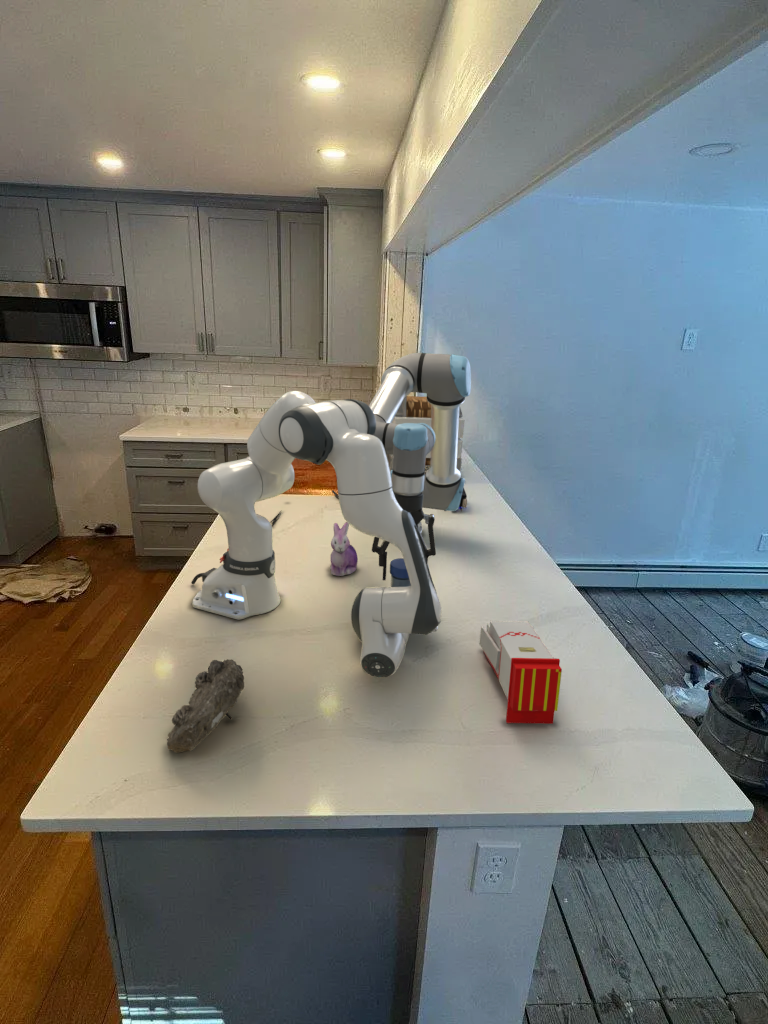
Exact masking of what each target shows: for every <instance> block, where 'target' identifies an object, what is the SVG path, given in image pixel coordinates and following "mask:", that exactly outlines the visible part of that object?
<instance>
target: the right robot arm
mask: <svg viewBox="0 0 768 1024" xmlns="http://www.w3.org/2000/svg"><path fill="white" fill-rule="evenodd" d="M471 370H472V369H471V363H470V361H469V359H468V357H466V356H465V355H458V354H454V353H451V354H448V353H447V354H445V353H430V352H428V353H427V352H412V353H409V354H405V355H403V356H401V357H399V358H397V359H395V360H394V361H393V362H392V363H390V364H389V365H388V366H387V367H386V369H385V370H384V372H383V373H382V375H381V379H380V383H381V384H380V386H379V388H378V389H377V391H376V392H375V394H374V396H373V398H372V399H371V401H370V403H369V404H368V406H369V407H370V408H371V410H372V411H373V413H374V416H375V420H376V430H375V434H374V436H376V437H377V438H379V439H380V440H381V442H382V443H383V445H384V448H385V452H386V454H393V469H392V470H391V471H390V472H391V478H392V486H393V492H394V495H395V498H396V500H397V502H398V504H399V505H400V506H401V508H402V509H403V510H405V511H407V512H409V513H410V514H411V516H412V517H413V519H414V522H415V524H416V527H417V530H418V533H419V536H420V540H421V543H422V546H423V550H424V554H425V557H426V561H427V564H428V563H429V558H430V557H431V556H432V557H434V556H436V555H437V549H436V541H435V533H434V524H435V521H436V520H435V519H436V518H435V514H434V513H430V514H427V513H425V512H424V511H423V509H428V510H429V509H430V510H431V509H432V510H440V511H444V512H456V511H458V510H459V509H460V508H459V505H460V500H461V496H462V492H463V488H464V489H465V487H464V486H465V483H466V479H465V477H461V475H462V474H460V471H459V470H458V469H457V468H456V467H457V447H458V426H459V406H460V407H461V405H463V403H464V402H465V401H466V398H467V397H469V396H470V394H471V391H472V371H471ZM411 393H417V394H426V397H427V401H428V402H429V403H430V404H431V405H432V407H431V427H430V426H429V425H427V424H424V423H417V424H416V423H403V424H393V423H392V421H393V419H394V417H395V415H396V413H397V411H398V409H399V407H400V405H401V403H402V401H403V399H404V397H406V396H410V394H411ZM430 451H431V461H430V466H429V468H428V469H427V470H426V466H425V461H426V456H427V454H428V453H429V452H430ZM425 470H426V471H425ZM331 492H332V494H333V495H334V496H336V498H338V499H339V496H338V493H337V492H336V491H335V490H331ZM458 508H459V509H458ZM423 520H424V522H425V524H426V525H427V531H428V532H427V533H428V541H429V548H427V545H426V542H425V540H424V537H423V524H422V521H423ZM379 543H380V538H377V537H374V536H373V541H372V546H371V552H372V553H376V554H378V567H379V568H380V567H382V581H386V579H387V563H388V562H387V561H388V551H387V549H388V547H389V545H390V544H391V543H390V542H388V541H385V540H383V541H382V543H381V545H380V546H379Z"/></svg>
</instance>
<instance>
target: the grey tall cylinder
mask: <svg viewBox="0 0 768 1024" xmlns="http://www.w3.org/2000/svg"><path fill="white" fill-rule="evenodd" d="M407 586H411V583H410V579H409V578H398V577H395V576H393V575H391V574H390V587H407Z"/></svg>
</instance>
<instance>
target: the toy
mask: <svg viewBox="0 0 768 1024" xmlns="http://www.w3.org/2000/svg"><path fill="white" fill-rule="evenodd" d="M478 642H479V643H478V644H479V646H480V647H481V650H482V651H483V654H484V655H485V657H486V659H487V661H488V663H489V664H490V666H491V669H492V670H493V672H494V674H495V676H496V678H497V679H498V682H499V684H500V687H501V688H502V691H503V693H504V695H505V697H506V699H507V706H506V717H505V722H506V724H547V725H549V724H551V725H553V724H554V718H555V712H558V711H559V710H558V709H559V698H560V689H561V682H562V681H561V680H562V672H563V671H562V667H561V666H560V663H561V659H560V658H554V656H553V654H552V653H551V651H550V650H549V649H548V647H547V646H546V644H545V643H544V642H543V640H542V638H540V636H539V635H538V633H537V631H536V630H535V627H534V626H532V625H531V623H530V622H529V620H528V621H527V620H526V621H525V620H524V621H523V620H490V621H489V622H487V623H486V628H485V626H480V634H479V641H478Z"/></svg>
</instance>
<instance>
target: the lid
mask: <svg viewBox="0 0 768 1024" xmlns="http://www.w3.org/2000/svg"><path fill="white" fill-rule="evenodd" d="M389 574H390V576H391V575H393V576H395V577H398V578H409V576H408V572H407V569H406V565H405V562H404V559H403V557H401V558H400V557H399V558H393V559H392V560H390V562H389Z"/></svg>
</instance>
